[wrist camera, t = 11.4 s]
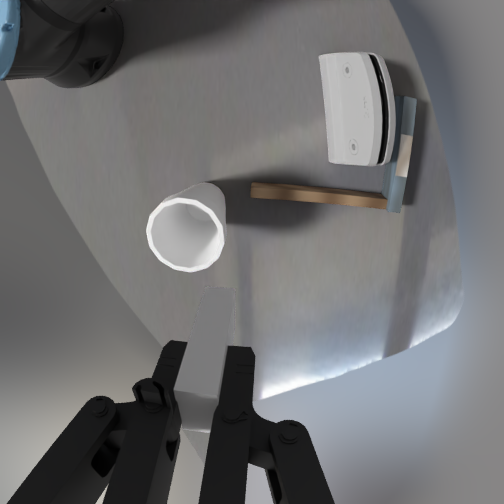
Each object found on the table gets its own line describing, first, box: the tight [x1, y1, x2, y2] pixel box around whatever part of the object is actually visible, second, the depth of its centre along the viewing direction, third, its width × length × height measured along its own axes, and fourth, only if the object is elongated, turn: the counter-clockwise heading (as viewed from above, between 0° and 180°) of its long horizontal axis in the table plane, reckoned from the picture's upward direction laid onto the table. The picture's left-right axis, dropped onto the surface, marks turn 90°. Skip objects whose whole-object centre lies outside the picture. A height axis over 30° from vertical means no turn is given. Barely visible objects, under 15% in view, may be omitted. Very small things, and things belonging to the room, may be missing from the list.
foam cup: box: [146, 182, 227, 272], centre depth 41 cm, size 10×9×13 cm
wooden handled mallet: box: [250, 96, 417, 213], centre depth 40 cm, size 22×17×4 cm
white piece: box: [319, 52, 396, 166], centre depth 36 cm, size 17×5×10 cm, turn 7°
